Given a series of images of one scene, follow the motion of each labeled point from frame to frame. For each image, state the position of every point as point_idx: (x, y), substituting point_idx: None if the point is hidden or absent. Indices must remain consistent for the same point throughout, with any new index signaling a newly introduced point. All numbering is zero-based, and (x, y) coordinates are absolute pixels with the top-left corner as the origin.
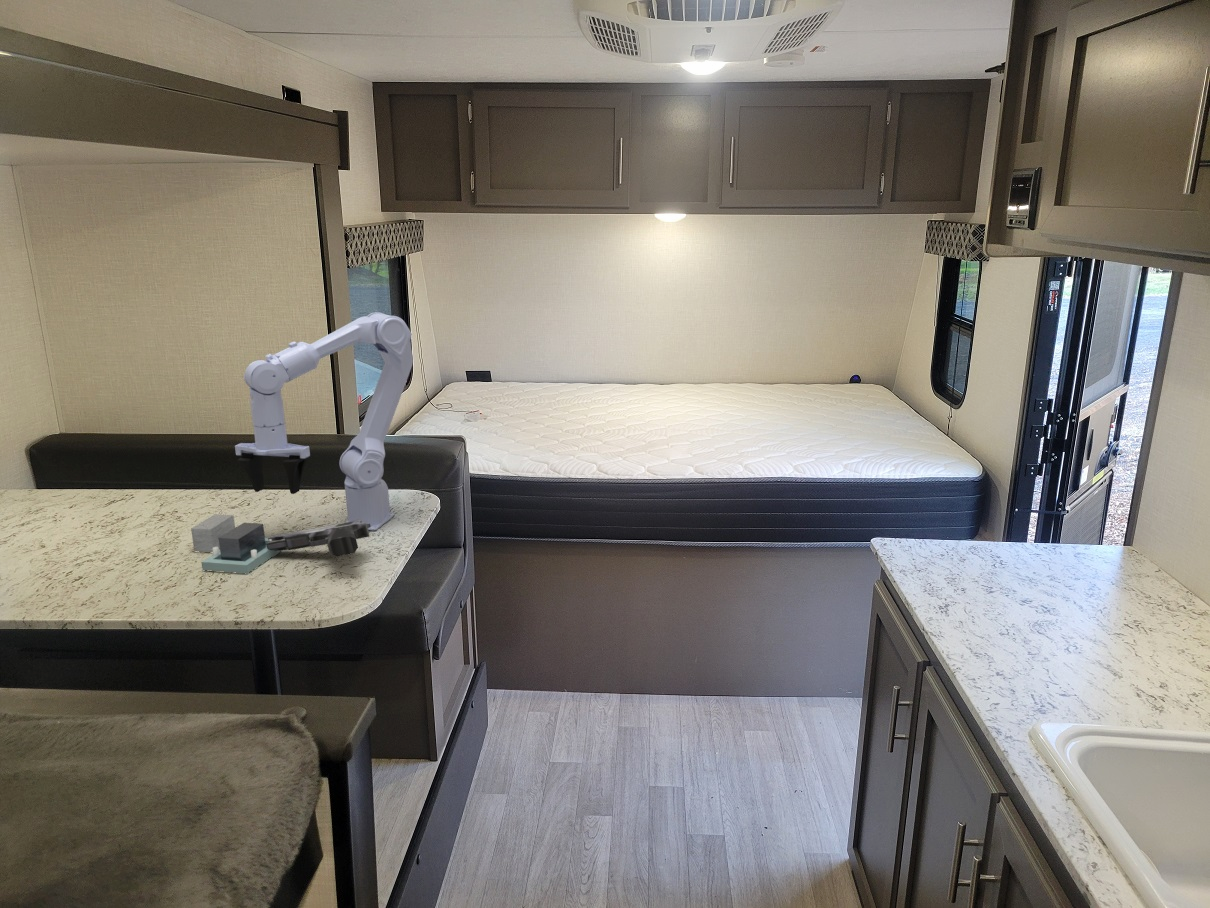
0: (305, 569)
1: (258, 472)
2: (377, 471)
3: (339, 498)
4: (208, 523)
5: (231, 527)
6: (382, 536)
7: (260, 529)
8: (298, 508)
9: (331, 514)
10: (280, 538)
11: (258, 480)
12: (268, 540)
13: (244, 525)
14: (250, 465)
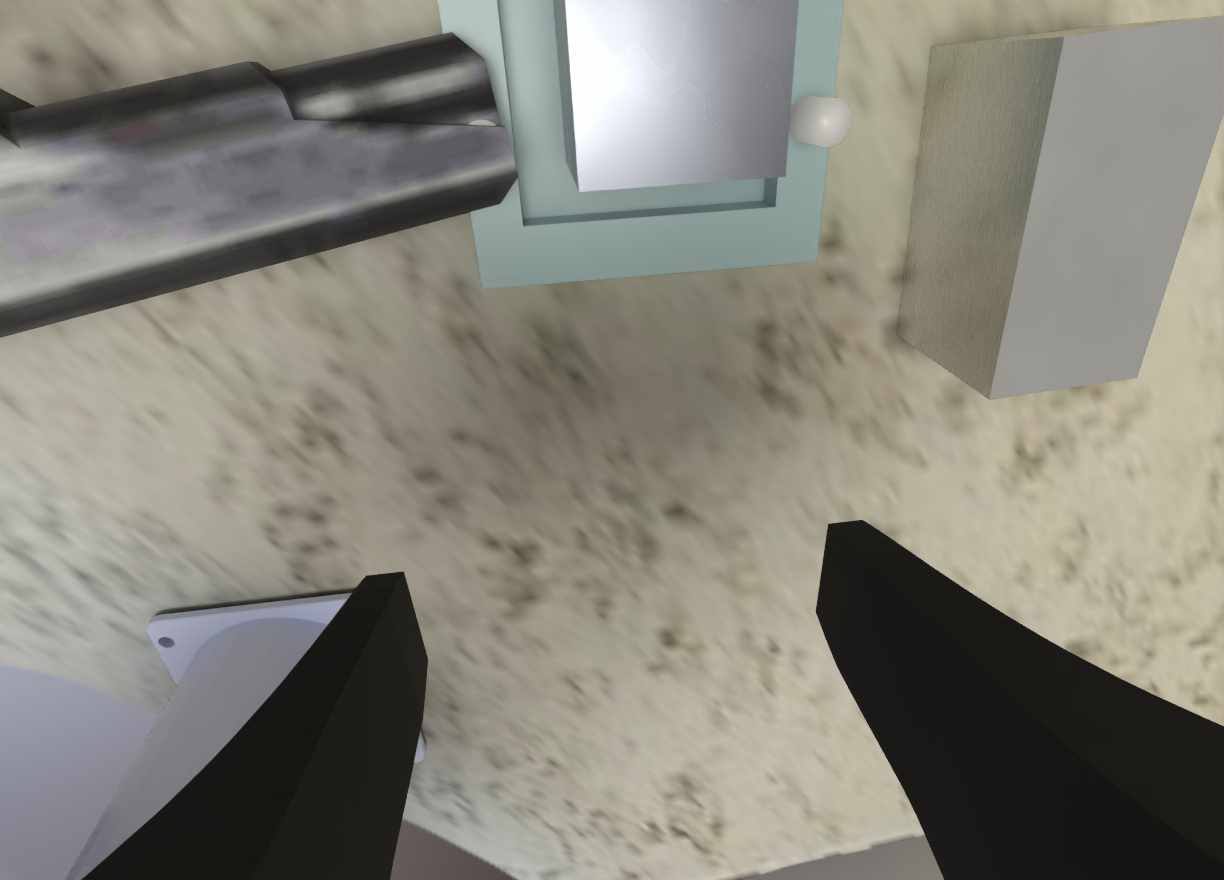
0: None
1: (942, 766)
2: None
3: (648, 834)
4: (1129, 179)
5: (949, 326)
6: (45, 570)
7: (572, 128)
8: (766, 719)
9: (564, 710)
10: (364, 121)
11: (886, 654)
12: (584, 228)
13: (736, 95)
14: (1135, 830)
